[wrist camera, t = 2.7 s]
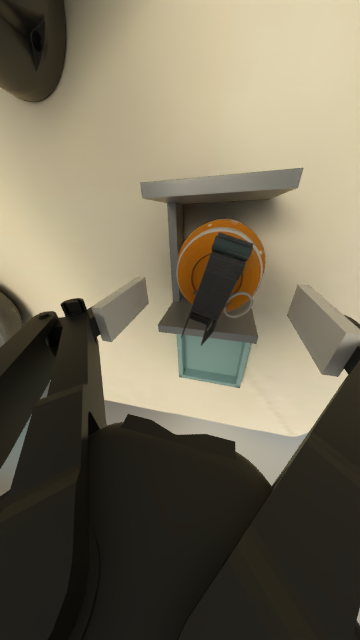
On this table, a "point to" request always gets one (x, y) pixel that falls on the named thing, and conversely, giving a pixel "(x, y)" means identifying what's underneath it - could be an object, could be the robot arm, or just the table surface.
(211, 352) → the tray
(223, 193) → the dock
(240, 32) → the table surface
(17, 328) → the bowl
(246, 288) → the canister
